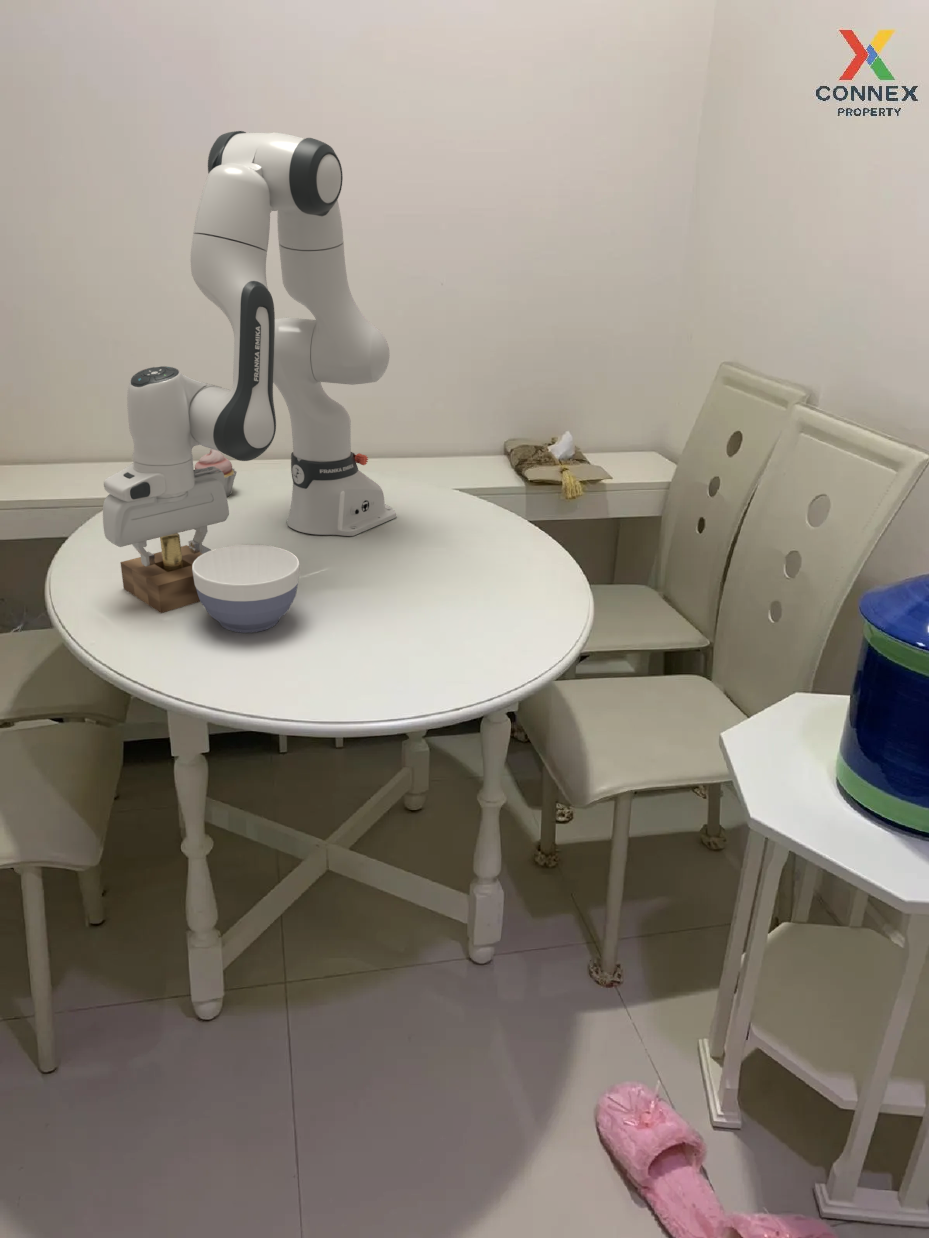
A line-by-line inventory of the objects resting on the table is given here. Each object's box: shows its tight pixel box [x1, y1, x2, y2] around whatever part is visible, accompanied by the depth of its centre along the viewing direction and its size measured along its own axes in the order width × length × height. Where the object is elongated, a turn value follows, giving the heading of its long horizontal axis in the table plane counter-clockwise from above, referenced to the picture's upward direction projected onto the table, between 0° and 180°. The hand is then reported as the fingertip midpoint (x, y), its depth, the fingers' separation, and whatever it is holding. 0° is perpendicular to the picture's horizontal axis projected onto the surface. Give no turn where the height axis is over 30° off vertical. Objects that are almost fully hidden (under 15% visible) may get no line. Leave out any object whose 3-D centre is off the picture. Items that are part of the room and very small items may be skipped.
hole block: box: [120, 544, 202, 614], centre depth 151 cm, size 12×12×5 cm
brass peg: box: [159, 533, 183, 572], centre depth 150 cm, size 3×3×10 cm
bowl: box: [192, 543, 300, 634], centre depth 142 cm, size 16×16×10 cm
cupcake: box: [194, 448, 238, 497], centre depth 195 cm, size 9×9×10 cm
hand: (172, 558), depth 149 cm, fingers open, 7 cm apart
